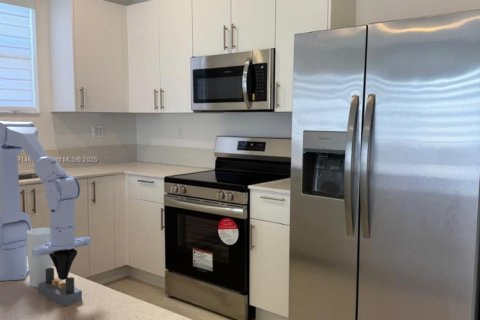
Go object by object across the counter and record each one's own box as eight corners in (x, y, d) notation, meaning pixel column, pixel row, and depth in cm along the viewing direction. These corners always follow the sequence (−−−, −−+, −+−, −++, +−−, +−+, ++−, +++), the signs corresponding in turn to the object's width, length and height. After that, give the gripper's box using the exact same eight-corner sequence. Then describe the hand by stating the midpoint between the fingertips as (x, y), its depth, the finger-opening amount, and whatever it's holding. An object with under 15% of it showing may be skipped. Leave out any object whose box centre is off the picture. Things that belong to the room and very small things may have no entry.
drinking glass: (43, 290, 111) (43, 235, 110) (21, 287, 112) (20, 232, 111) (59, 281, 118) (59, 228, 116) (38, 278, 119) (37, 226, 117)
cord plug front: (64, 292, 104) (63, 278, 104) (71, 289, 106) (71, 276, 106) (68, 294, 103) (68, 280, 103) (76, 291, 105) (75, 278, 105)
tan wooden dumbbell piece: (51, 284, 108) (51, 279, 108) (58, 282, 110) (58, 277, 110) (61, 288, 106) (61, 284, 105) (67, 286, 107) (67, 282, 107)
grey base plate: (38, 292, 110) (38, 283, 109) (56, 287, 114) (56, 278, 113) (63, 306, 102) (63, 296, 102) (81, 300, 106) (81, 290, 106)
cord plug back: (44, 282, 110) (44, 269, 110) (51, 280, 112) (51, 267, 112) (48, 284, 109) (48, 271, 109) (55, 282, 111) (55, 269, 110)
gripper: (42, 234, 97) (42, 291, 98) (97, 223, 109) (97, 274, 110) (27, 228, 101) (28, 283, 103) (82, 218, 113) (81, 268, 114)
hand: (62, 278), depth 107 cm, fingers closed
